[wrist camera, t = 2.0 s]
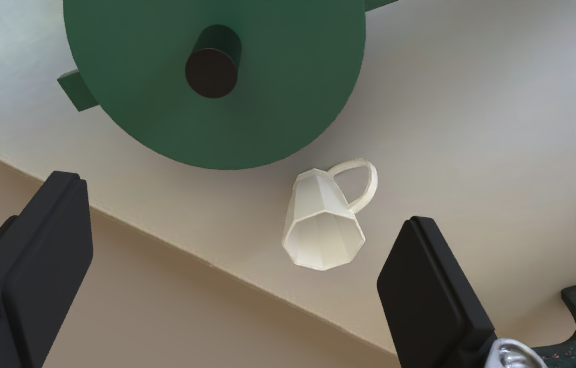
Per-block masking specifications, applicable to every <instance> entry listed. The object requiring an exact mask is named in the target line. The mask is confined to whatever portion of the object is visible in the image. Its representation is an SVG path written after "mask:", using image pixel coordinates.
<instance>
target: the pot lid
mask: <svg viewBox="0 0 576 368" xmlns="http://www.w3.org/2000/svg"><path fill="white" fill-rule="evenodd" d="M63 13H64V22H65V28H66V34H67V39H68V42H69V45H70V49H71V52H72V56H73V58H74V61H75V63H76V65H77V68H78V70H79V72H80V75H81V77H82V78H83V80H84V82H85V83H86V85H87V87H88V89H89V90H90V92H91V94H92V95H93V96H94V98H95V99H96V100H97V102H98V103H99V105H100V106H101V107H102V109H103V110H104V111H105V112H106V113H107V114H108V115H109V116H110V117H111V118H112V120H113V121H114V122H115V123H116V124H118V125H119V126H120V127H121V128H122V129H123V130H124V131H125V132H127V133H128V134H129V135H130V136H132V137H133V138H135V139H136V140H137V141H139V142H140V143H142V144H143V145H145V146H146V147H148V148H150V149H152V150H154V151H155V152H157V153H159V154H161V155H164V156H166V157H168V158H170V159H173V160H175V161H179V162H182V163H185V164H188V165H192V166H197V167H202V168H208V169H219V170H239V169H247V168H254V167H258V166H262V165H266V164H270V163H273V162H275V161H278V160H281V159H284V158H286V157H288V156H290V155H292V154H294V153H295V152H297V151H299V150H301V149H302V148H304V147H305V146H307V145H308V144H310V143H311V142H312V141H313V140H315V139H316V138H317V137H318V136H319V135H320V134H322V133H323V132H324V131H325V130H326V128H327V127H328V126H329V125H330V124H331V123H332V122H333V121H334V120H335V118H336V117H337V115H338V114H339V113H340V111H341V110H342V108H343V107H344V106H345V104H346V102H347V100H348V98H349V96H350V94H351V93H352V91H353V88H354V85H355V83H356V80H357V78H358V75H359V72H360V68H361V64H362V60H363V55H364V47H365V39H366V16H365V8H364V1H363V0H63Z"/></svg>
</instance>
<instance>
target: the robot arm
mask: <svg viewBox="0 0 576 368" xmlns="http://www.w3.org/2000/svg"><path fill="white" fill-rule="evenodd" d="M92 257H93V243H92V233H91V222H90V212H89V202H88V191H87V183H86V180H83V179H80V176H79V174H77V173H70V172H62V171H53V172H52V173H51V175H50V176H49V177H48V178H47V180H46V181H45V182H44V184H43V185H42V186H41V187H40V189H39V190H38V191H37V193H36V194H35V195H34V196H33V198H32V199H31V200H30V202H29V203H28V204H27V206H26V207H25V208H24V209H23V211H22V212H21V213H20V215H19V216H17V215H14V216H11V217H9V218H8V219H7V220H6V221H5V222H4V224H3V225H2V226H1V227H0V368H42V366H43V364H44V361H45V359H46V357H47V355H48V353H49V351H50V349H51V346H52V345H53V342H54V340H55V338H56V336H57V334H58V332H59V329H60V328H61V325H62V323H63V321H64V319H65V317H66V315H67V313H68V310H69V308H70V306H71V304H72V302H73V300H74V298H75V296H76V294H77V291H78V289H79V287H80V285H81V283H82V281H83V279H84V277H85V275H86V272H87V270H88V268H89V266H90V264H91V261H92ZM377 290H378V293H379V297H380V300H381V303H382V306H383V309H384V313H385V316H386V319H387V322H388V326H389V329H390V332H391V335H392V338H393V342H394V345H395V348H396V351H397V355H398V358H399V361H400V364H401V367H402V368H547V366H546V364H545V363H544V362H543V360H542V359H541V358H540V357H539V356H538V355H537V354H536V353H535V352H534V351H533V350H532V349H530V348H529V347H528V346H526V345H525V344H523V343H521V342H519V341H517V340H514V339H510V338H499V339H498V338H497V336H496V335H495V333H494V330H495V328H494V326H493V325H492V323H491V321H490V319H489V317H488V316H487V314H486V312H485V310H484V308H483V307H482V305H481V303H480V301H479V300H478V298H477V296H476V294H475V292H474V291H473V289H472V287H471V285H470V283H469V282H468V280H467V278H466V276H465V275H464V273H463V271H462V269H461V267H460V266H459V264H458V262H457V260H456V259H455V257H454V255H453V253H452V251H451V250H450V248H449V246H448V244H447V242H446V241H445V239H444V237H443V235H442V234H441V232H440V230H439V228H438V226H437V225H436V223H435V221H434V220H433V219H432V218H427V217H419V216H413V217H411V218H410V220H406V221H405V222H404V224H403V226H402V228H401V230H400V232H399V235H398V237H397V239H396V241H395V243H394V245H393V247H392V249H391V252H390V254H389V256H388V258H387V260H386V262H385V264H384V266H383V268H382V271H381V273H380V275H379V277H378V280H377Z"/></svg>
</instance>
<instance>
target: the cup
mask: <svg viewBox="0 0 576 368" xmlns="http://www.w3.org/2000/svg"><path fill="white" fill-rule="evenodd" d="M359 166H368V170H369V181H368V184H367V186H366V189H365V192H364V193H363V194H362V195H361V197H359V198H358V199H356V200H355V201H353V202H351V203H349V204H348V203H347V201H346V199H345V197H344V195H343V193H342V191H341V189H340V188H339V186H338V185H337V184H336V183H335V181H334V180H333V177H334V176H335V175H336V174H338V173H340V172H342V171H344V170H347V169H351V168H354V167H359ZM376 188H377V172H376V168H375V167H374V166H373V165H372V164H371V163H370V162H368V161H367V160H366V159H365V158H357V159H353V160H349V161H346V162H342V163H340V164H338V165H336V166H334V167H332V168H330V169H329V170H328V171H327V172H326V171H323V170H319V169H316V168H313V169H311V170H308V171H306V172H303V173H301V174H298V176H297V178H296V181H295V183H294V185H293V187H292V190H293V193H292V196H291V199H290V202H289V205H288V208H287V214H286V221H285V228H284V233H283V239H282V246H283V247H284V249H285V250H286V252H287V254H288V255H289V257H290V258H291V260H292V261H293V263H294V265H298V266H302V267H306V268H311V269H315V270H319V271H326V270H329V269H332V268H334V267H337V266H340V265H343V264H346V263H349V262H352V260H353V259H354V257H355V256H356V254H357V253H358V251H359V250H360V248H361V247H362V245H363V244H364V242H365V241H366V239H365V237H364V235H363V233H362V230H361V228H360V226H359V224H358V222H357V219H356V217H355V215H354V214H355V213H357V212H359V211H360V210H361V209H362V208H364V207H365V206H366V205H367V204H368V203H369V202H370V200H371V199H372V198H373V196H374V193H375V191H376Z"/></svg>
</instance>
